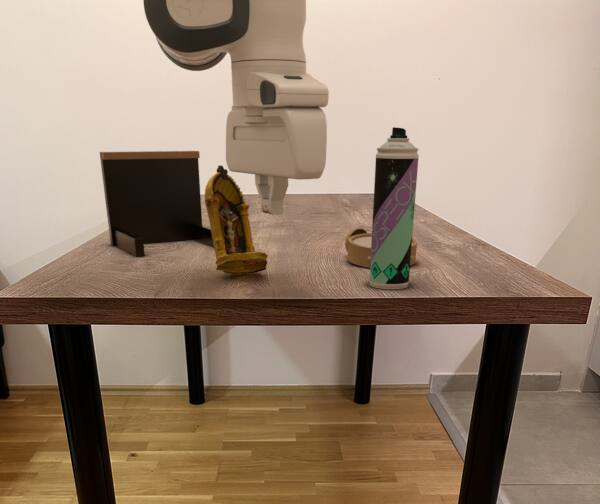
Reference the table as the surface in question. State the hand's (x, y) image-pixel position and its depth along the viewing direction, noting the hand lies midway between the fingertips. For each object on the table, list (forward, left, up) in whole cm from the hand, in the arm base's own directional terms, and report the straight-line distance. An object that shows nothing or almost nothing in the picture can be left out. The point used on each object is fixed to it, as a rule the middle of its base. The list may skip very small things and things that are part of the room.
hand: (272, 213), depth 82 cm
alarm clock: (+26, +11, -10) cm, 30 cm away
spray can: (+16, -5, -10) cm, 19 cm away
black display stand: (0, +40, -10) cm, 41 cm away
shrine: (0, +11, -10) cm, 15 cm away
